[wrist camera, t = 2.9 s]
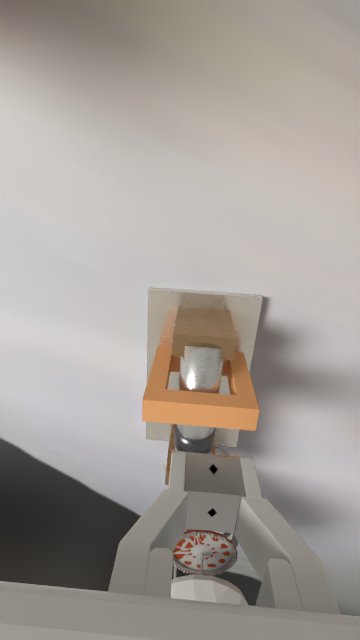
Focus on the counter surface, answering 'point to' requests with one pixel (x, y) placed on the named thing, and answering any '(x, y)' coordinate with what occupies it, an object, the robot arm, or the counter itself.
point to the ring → (200, 396)
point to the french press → (205, 565)
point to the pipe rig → (199, 354)
